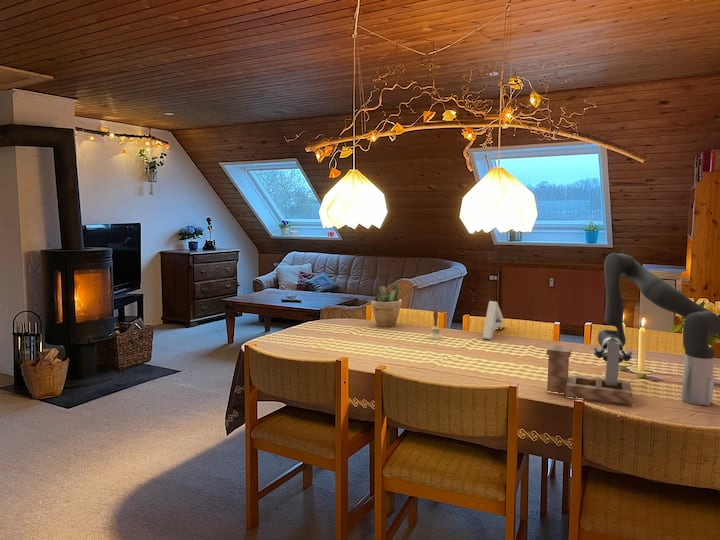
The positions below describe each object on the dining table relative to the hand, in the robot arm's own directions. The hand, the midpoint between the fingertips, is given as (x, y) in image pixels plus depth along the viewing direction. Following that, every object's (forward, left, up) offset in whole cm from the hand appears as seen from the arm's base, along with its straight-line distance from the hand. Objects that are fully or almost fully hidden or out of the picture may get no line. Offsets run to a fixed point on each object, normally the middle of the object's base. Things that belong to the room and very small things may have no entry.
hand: (613, 359), depth 203 cm
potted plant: (+145, -41, -16) cm, 151 cm away
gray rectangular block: (+1, -3, -10) cm, 10 cm away
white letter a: (+87, -68, -16) cm, 112 cm away
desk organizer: (+9, 0, -15) cm, 18 cm away
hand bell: (+105, -36, -16) cm, 112 cm away
